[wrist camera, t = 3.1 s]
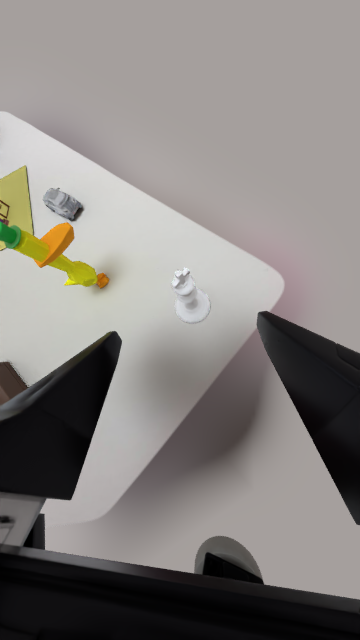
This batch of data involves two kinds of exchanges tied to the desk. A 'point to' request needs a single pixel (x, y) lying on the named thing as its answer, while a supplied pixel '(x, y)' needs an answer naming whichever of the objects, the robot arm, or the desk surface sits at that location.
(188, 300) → the chess piece
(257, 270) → the desk surface
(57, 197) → the toy car
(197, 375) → the desk surface
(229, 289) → the desk surface
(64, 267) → the toy figure
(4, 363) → the dark tray
